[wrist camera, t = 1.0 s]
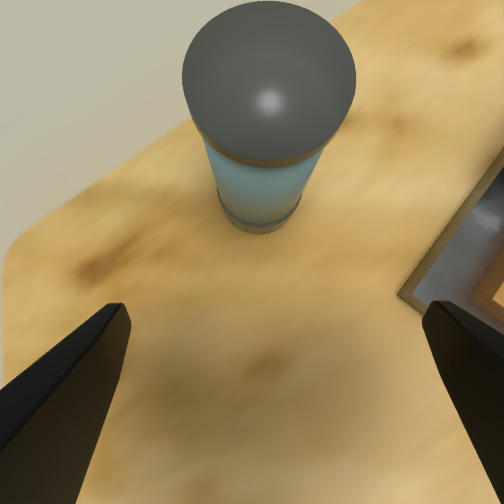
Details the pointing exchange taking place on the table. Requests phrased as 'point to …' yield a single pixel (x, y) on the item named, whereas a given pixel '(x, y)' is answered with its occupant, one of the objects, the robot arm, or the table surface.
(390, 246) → the table surface
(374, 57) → the table surface
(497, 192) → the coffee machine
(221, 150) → the grey-capped teal cylinder
